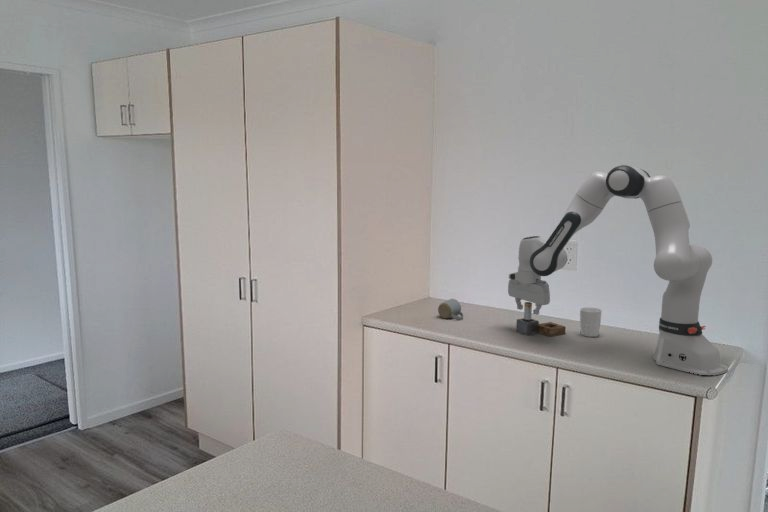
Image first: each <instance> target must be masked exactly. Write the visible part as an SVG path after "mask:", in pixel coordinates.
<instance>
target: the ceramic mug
mask: <svg viewBox="0 0 768 512" xmlns="http://www.w3.org/2000/svg"><path fill="white" fill-rule="evenodd" d="M437 311H438V315H439V316H440V318H442V319H451V318H452V319H455V320H456V321H461V319H462V320H463V318H464V313H463V312H462V305H461V303H460V302H459V301H458V300H457V299H455V298H450V299H447V300H445V301H443V302H442V303H440V304H439V306H438V308H437ZM458 315H460V316H458Z"/></svg>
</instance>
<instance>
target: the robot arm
mask: <svg viewBox="0 0 768 512" xmlns="http://www.w3.org/2000/svg"><path fill="white" fill-rule="evenodd" d="M615 196H616V197H620V198H623V199H641V200H642V202H643V204H644V206H645V209H646V212H647V216H648V219H649V222H650V224H651V227H652V231H653V237H654V242H655V258H654V261H653V269H654V270H653V271H654V272H655V274H656V275H657V276H658V277H659V279H662V280H664V281H668V284H667V286H666V289H665V291H664V292H663V294H662V301H661V313H660V314H661V315H660V317H659V322H658V332H659V334H658V338H657V339H658V340H657V345H656V348H655V350H654V354H653V356H652V359H653V360H654V361H655V364H656V365H658V366H662V367H666V368H670V369H674V370H677V371H681V372H686V373H689V372H690V374H693V373H694V374H693V375H697V374H699V375H698V376H701V375H713V376H718V375H722V374H725V373H727V372H728V371H729V369H728V368H729V366H727V365H725V364H723V363H721V353H720V350H719V349H718V348H717V347H716V346H715V345H714V344H713V343H712V342H711V341H710V340H709V339H708V338H707V337H706V336H705V335H704V334H703V330H706V325H703V326H701V324H700V321H699V310H700V302H701V296H702V291H703V289H704V285H705V282H706V278H707V274H708V272H709V270H710V269H711V266H712V264H713V257H712V254H711V253H710V251H709V250H708V249H707V248H705V247H702V246H700V245H697V244H696V245H695V244H690V239H689V229H690V226H691V225H690V220H689V218H688V215H687V212H686V209H685V206H684V203H683V201H682V198H681V195H680V193H679V191H678V189H677V187H676V185H675V183H674V181H673V180H672V178H671V177H669V176H667V175H663V174H662V175H661V174H659V175H657V174H656V175H654V176H650V174H649V173H648V171H646V170H644V169H642V168H638V167H637V166H635V165H634V166H632V165H625V164H622V165H618V166H615V167H613V168H612V169H611V170H610V171H608V172H605V171H595V172H592V173H591V174H590V176H588V177H587V178H586V180H585V181H584V182H583V183H582V185H581V186H580V187H579V189H578V190H577V192H576V193H575V195H574V197H573V199H572V200H571V202H570V203H569V206H568V208H567V209H566V211H565V213H564V215H563V217H562V218H561V220H560V221H559V223H558V225H557V226H556V227H555V228H554V230H553V232H552V233H551V234H550V236H549V237H548V239H547V241H545V239H543V238H542V237H541V236H539V235H533V236H527V237H524V238H522V239H521V240H520V243H519V247H518V263H519V264H518V267H517V272H512V273H509V274H508V279H509V280H508V282H507V283H508V287H507V293H508V296H509V297H512V298H515V300H514V301H515V302H516V309H517V310H523V309H524V305H523V304H522V300H523V301H525V302H531V303H532V304H533V303H534V304H535V308H534V309H533V310H532V314H533V315H536V316H537V315H540V310H541V309H542V307H543V306H548V305H549V304H550V302H551V293H550V286H549V283H548V282H547V281H546V280H542V277H548V276H551V275H553V273H554V272H557V271H559V270H561V269H563V268H564V267H565V265H566V264H567V262H568V254H567V253H566V251H565V247H566V246H567V244H568V243H569V241H570V240H571V238H572V237H573V236H574V235H575V234H576V233H577V232H579V231H580V230H582V229H583V228H586V227H587V226H589V225H590V224H592V223H594V221H595V220H596V219H597V218H598V216H599V215H600V214H602V212H603V210H604V209H605V207H606V206H607V204H608V203H609V201H611V199H612V198H613V197H615Z"/></svg>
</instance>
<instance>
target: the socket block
mask: <svg viewBox="0 0 768 512" xmlns="http://www.w3.org/2000/svg"><path fill="white" fill-rule="evenodd" d="M539 324H540V323H539V320H537V319H534V318H531V321H529V322H526V321H524V317H523V318H518V319H516V325H515V326H516V328H515V330H516V332H517V333H519V334H522V335H525V336H531V335H535V334H539V333H538V326H539Z"/></svg>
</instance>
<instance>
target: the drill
mask: <svg viewBox="0 0 768 512" xmlns="http://www.w3.org/2000/svg"><path fill="white" fill-rule="evenodd" d="M523 303H524V305H523V309H524V310H523V311H524V312H523V314H524V315H523V318H524V321H526V322H529V321H531V319H532V314H533V310H532V309H533V302H529V301H525V302H523Z"/></svg>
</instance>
